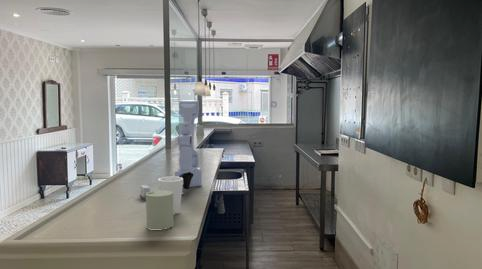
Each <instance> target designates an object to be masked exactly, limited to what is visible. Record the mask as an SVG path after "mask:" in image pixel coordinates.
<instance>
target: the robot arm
mask: <svg viewBox="0 0 482 269" xmlns="http://www.w3.org/2000/svg"><path fill="white" fill-rule="evenodd" d="M178 110H179V115H180V118H183V122H182V123H181V125H180V130H179V136H178V138H177V145H178V151H179V158H178V166H179V168H178V169H177V170H176V171H175V172H174V177H182V178H183V187H182V189H183V190H189V189H190V188H192V187H201V186H203V184H202V170H201V168H200V154H199V152H198V151H197V150H195V149H194V143H195V142H194V141H195V140H194V139H195V138H194V137H195V135H194V134H195V121H196V119H197V118H198V117H199V114H200V113H199V112H200V103H199V100H198V99H195V100H190V99H189V100H188V99H187V100H186V99H185V100H183V99H180V100H179V102H178Z"/></svg>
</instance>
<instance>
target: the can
mask: <svg viewBox="0 0 482 269" xmlns="http://www.w3.org/2000/svg"><path fill="white" fill-rule="evenodd" d="M149 191H150V190H149ZM145 204H146V205H145V206H146V207H145V210H146V212H145V213H146V227H147V228H150V229H165V228H170V227H172V226H173V227H174V226H175V223H174V214H173V192H172V191H169V190H159V189H156V190H151V191H150V192H147V193H146V201H145ZM146 227H145V228H146ZM173 227H172V228H173ZM147 228H146V229H147Z"/></svg>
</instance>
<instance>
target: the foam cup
mask: <svg viewBox="0 0 482 269" xmlns="http://www.w3.org/2000/svg"><path fill="white" fill-rule="evenodd" d="M157 186H158V190H169V191H172V192H173V215H176V214H175V213H177V214H179V213H180V211H181V202H182V196H181V195H182V192H183V178H182V177H179V176H164V177H159V178H158V179H157Z"/></svg>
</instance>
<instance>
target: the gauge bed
mask: <svg viewBox="0 0 482 269" xmlns="http://www.w3.org/2000/svg"><path fill="white" fill-rule="evenodd" d="M147 192H150V187H149V186H148V185H147V184H143V185H140V193H139V196H140V197H141V198H142V199H143V200H144V201H145V202H146V193H147ZM185 196H186V193H185V192H183V191H182V195H181V197H185Z"/></svg>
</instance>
